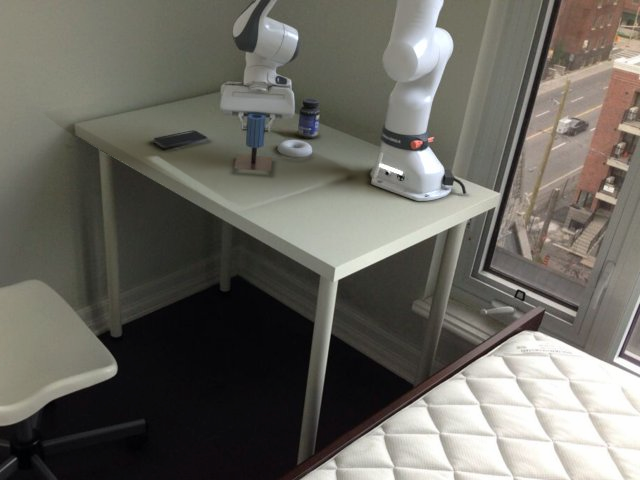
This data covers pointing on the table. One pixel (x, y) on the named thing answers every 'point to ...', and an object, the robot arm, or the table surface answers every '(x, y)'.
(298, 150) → the donut
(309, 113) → the pill bottle
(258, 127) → the tube
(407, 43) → the robot arm
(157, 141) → the phone
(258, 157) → the dowel stand
